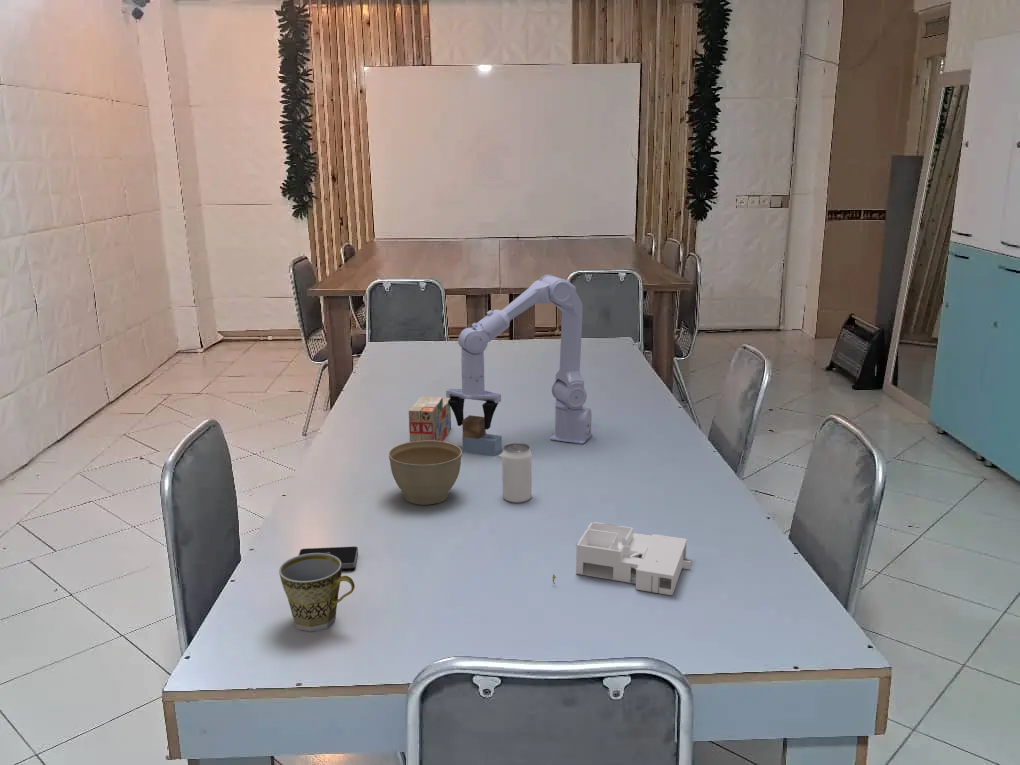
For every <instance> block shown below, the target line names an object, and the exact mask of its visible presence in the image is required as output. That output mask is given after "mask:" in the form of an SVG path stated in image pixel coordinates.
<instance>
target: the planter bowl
mask: <svg viewBox="0 0 1020 765" xmlns="http://www.w3.org/2000/svg"><path fill="white" fill-rule="evenodd" d="M462 456H463V449H462V448H461V447H459V445H456V444H454V443H451V442H447V441H443V442H442V441H430V440H428V441H415V442H410V441H409V442H408V441H407V442H404V443H401V444H398V445H396V446H394V447H392V448H391V449H390V450H389V452H388V458H389V462H390V463H389V464H390V469H391V470H390V471H391V473H392V476H393V479H394V481H395V483H396V485H397V487H398V488H399V490H400V491H401V492H402V493H403V495H404V498H405V500H406V501H407V502H409V503H411V504H414V505H421V506H423V505H425V506H426V505H428V506H429V505H435V504H439V503H441V502H444V501H446V499H447V498H448V496H449V492H450V491H451V489H452V488H453V486H454V485H455V483H456V481H457V479H458V476H459V474H460V470H461V462H462Z"/></svg>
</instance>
